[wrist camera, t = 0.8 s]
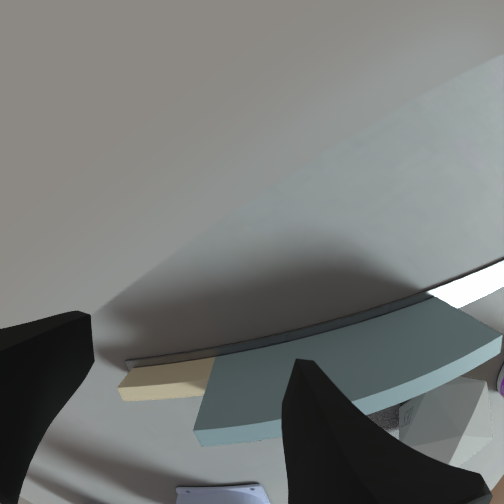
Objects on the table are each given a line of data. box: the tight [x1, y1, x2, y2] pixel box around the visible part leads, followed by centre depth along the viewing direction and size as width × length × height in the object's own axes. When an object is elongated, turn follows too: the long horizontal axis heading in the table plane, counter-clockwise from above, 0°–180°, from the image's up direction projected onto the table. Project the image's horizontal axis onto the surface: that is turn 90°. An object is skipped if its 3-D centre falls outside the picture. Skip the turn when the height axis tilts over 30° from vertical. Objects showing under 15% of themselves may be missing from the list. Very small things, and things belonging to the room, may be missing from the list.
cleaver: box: [117, 297, 503, 446], centre depth 16 cm, size 24×1×8 cm, turn 104°
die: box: [399, 376, 493, 467], centre depth 17 cm, size 8×9×10 cm
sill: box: [125, 259, 504, 372], centre depth 19 cm, size 44×2×1 cm, turn 104°
